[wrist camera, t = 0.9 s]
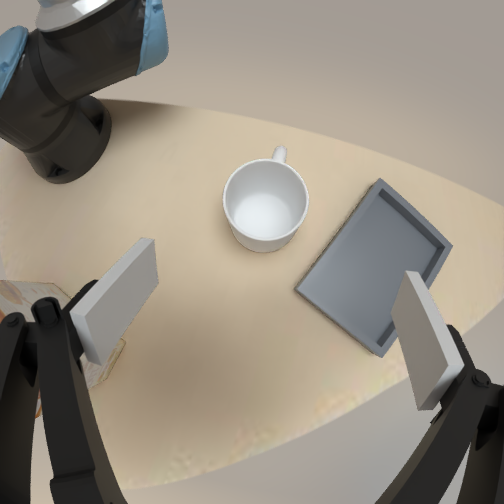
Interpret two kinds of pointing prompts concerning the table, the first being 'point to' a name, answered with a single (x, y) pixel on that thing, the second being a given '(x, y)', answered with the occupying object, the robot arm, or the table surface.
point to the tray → (373, 266)
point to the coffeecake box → (21, 300)
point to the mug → (265, 202)
